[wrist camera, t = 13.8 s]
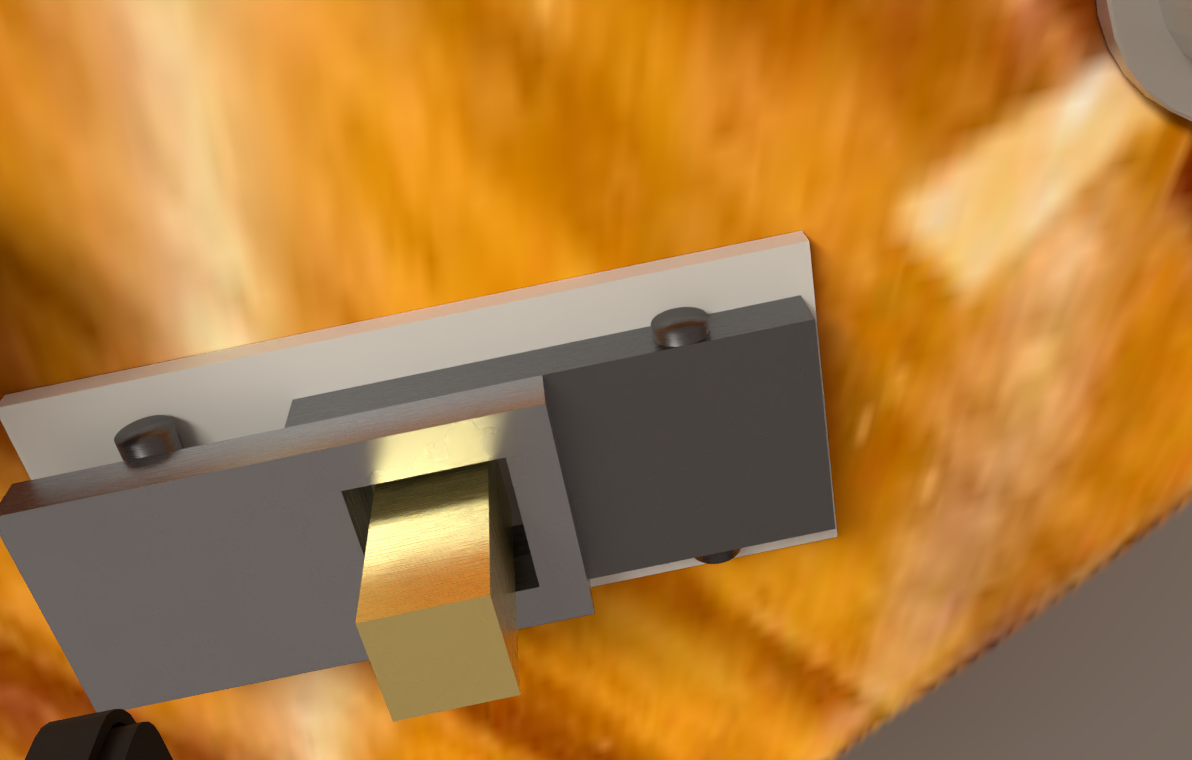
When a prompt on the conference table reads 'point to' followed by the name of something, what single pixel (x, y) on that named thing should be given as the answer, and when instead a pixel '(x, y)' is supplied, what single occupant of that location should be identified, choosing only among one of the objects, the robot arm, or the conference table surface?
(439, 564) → the pin
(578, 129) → the conference table surface
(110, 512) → the gray toy truck
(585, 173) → the conference table surface
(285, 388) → the board
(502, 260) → the conference table surface
